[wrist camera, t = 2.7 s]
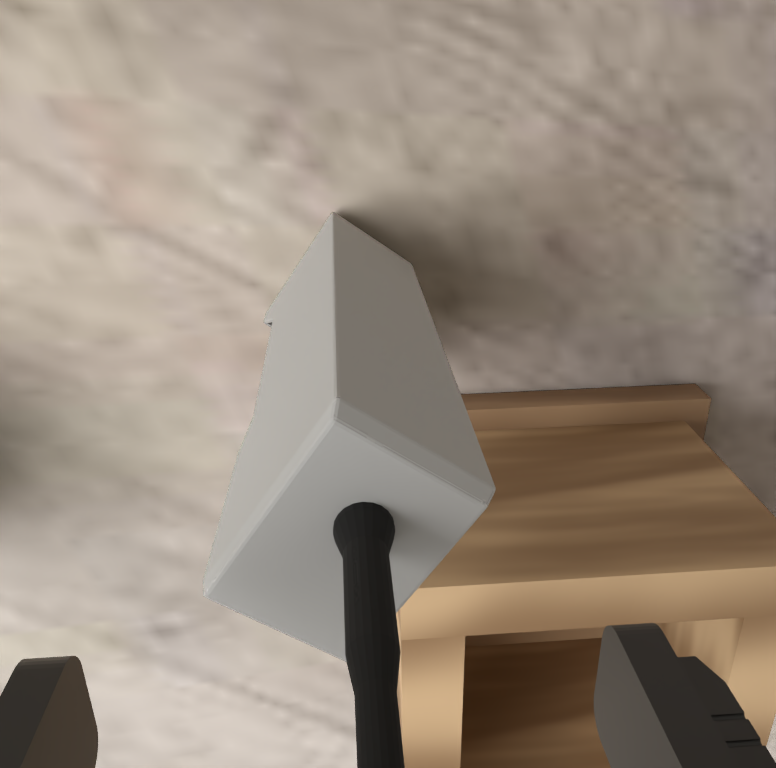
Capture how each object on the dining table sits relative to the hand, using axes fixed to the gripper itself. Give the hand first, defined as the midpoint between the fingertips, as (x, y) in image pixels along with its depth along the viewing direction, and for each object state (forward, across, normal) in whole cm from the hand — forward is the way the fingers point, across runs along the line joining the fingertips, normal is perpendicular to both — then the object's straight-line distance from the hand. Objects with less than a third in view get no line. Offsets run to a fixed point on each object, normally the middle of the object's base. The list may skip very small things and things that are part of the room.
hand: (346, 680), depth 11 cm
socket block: (+20, -8, +13) cm, 25 cm away
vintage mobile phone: (+20, 0, 0) cm, 20 cm away
